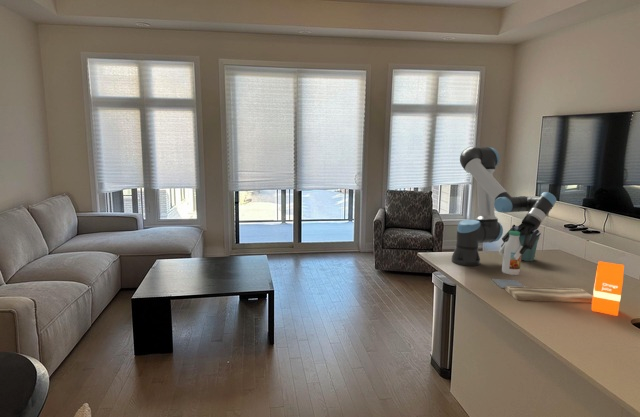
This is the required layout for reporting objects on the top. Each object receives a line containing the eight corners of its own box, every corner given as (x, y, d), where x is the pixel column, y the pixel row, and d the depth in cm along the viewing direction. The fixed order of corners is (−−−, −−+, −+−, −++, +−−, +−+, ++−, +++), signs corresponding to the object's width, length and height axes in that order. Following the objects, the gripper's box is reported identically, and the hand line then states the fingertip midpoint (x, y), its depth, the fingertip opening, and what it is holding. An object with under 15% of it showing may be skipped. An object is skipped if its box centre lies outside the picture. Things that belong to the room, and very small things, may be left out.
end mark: (491, 279, 206) (491, 279, 206) (515, 280, 206) (516, 280, 206) (501, 288, 194) (501, 287, 194) (527, 289, 194) (527, 288, 194)
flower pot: (511, 261, 240) (514, 233, 238) (503, 253, 256) (506, 228, 254) (541, 263, 238) (545, 235, 235) (532, 255, 254) (535, 229, 251)
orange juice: (617, 316, 166) (625, 267, 163) (591, 310, 171) (598, 263, 168) (616, 309, 173) (623, 262, 170) (591, 304, 178) (597, 258, 174)
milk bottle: (501, 273, 197) (506, 232, 194) (501, 269, 204) (505, 229, 201) (519, 276, 194) (524, 234, 191) (518, 271, 201) (523, 230, 198)
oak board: (505, 290, 192) (505, 285, 192) (580, 292, 192) (580, 288, 191) (516, 299, 180) (517, 295, 180) (596, 302, 180) (597, 298, 180)
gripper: (556, 228, 194) (530, 266, 189) (517, 220, 212) (492, 255, 207) (550, 218, 191) (524, 256, 186) (511, 211, 208) (486, 245, 203)
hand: (507, 255), depth 196 cm, fingers closed on milk bottle, 7 cm apart
